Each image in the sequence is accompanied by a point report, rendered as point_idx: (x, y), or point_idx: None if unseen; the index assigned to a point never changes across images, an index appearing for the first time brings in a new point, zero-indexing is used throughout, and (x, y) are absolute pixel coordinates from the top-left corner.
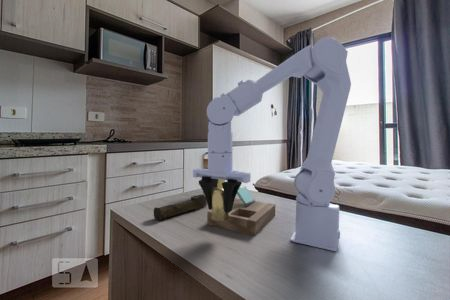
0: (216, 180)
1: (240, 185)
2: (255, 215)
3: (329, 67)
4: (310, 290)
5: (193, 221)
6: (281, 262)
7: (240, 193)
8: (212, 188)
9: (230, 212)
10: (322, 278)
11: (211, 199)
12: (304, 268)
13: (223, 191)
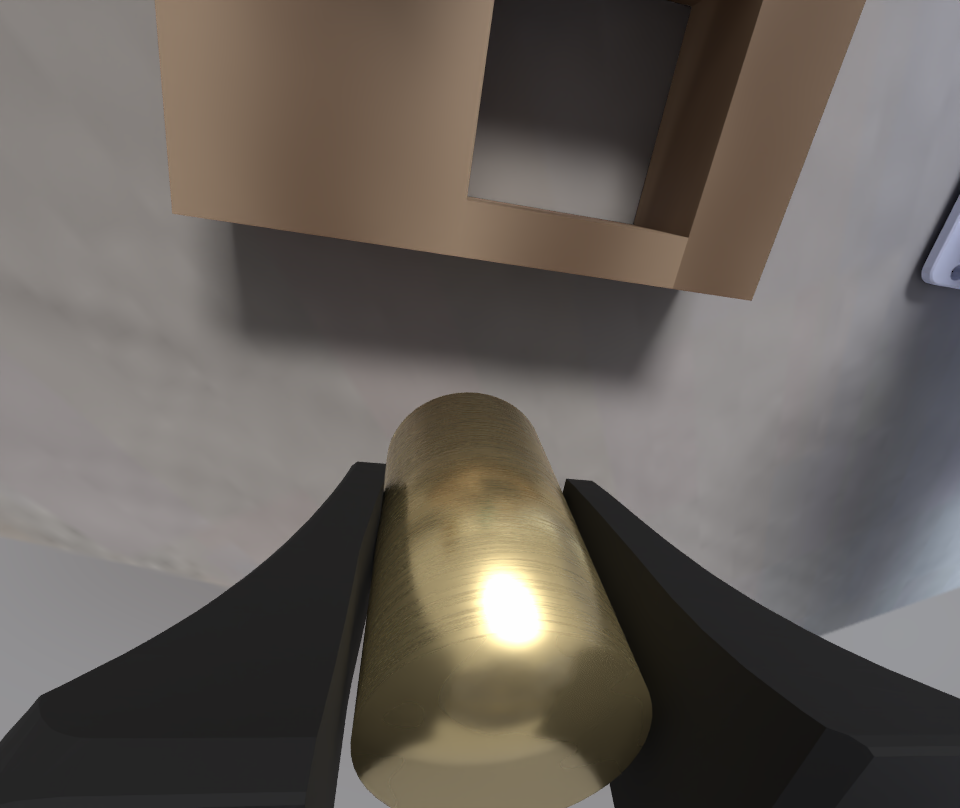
0: (321, 784)
1: (914, 692)
2: (753, 125)
3: None
4: (871, 603)
5: (51, 187)
6: (810, 502)
7: None
8: (366, 769)
9: (454, 132)
10: (938, 536)
11: (362, 602)
12: (895, 505)
13: (593, 778)
